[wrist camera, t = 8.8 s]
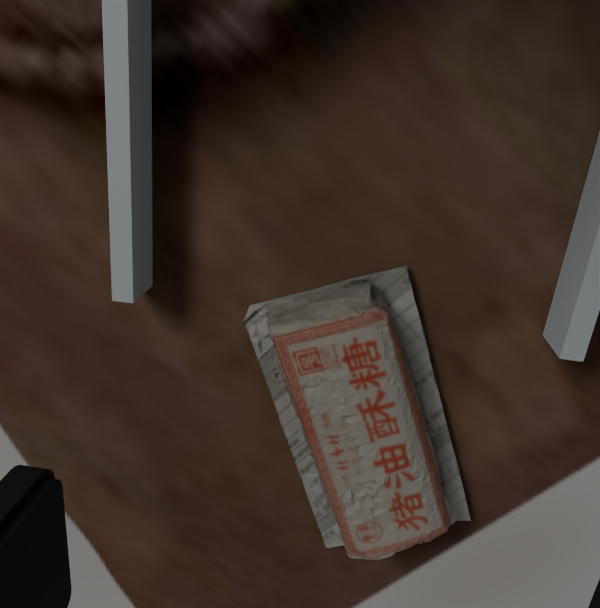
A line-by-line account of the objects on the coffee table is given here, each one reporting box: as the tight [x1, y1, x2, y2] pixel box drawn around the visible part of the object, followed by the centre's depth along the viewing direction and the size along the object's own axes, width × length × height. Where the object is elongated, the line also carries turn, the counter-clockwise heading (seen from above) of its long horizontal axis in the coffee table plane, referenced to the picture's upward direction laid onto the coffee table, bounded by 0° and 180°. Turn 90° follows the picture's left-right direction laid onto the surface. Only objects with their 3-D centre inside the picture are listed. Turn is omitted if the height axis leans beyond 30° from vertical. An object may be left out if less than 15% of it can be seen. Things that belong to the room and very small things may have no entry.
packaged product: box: [243, 266, 471, 560], centre depth 33 cm, size 18×5×10 cm
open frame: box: [102, 0, 600, 362], centre depth 27 cm, size 21×25×3 cm
